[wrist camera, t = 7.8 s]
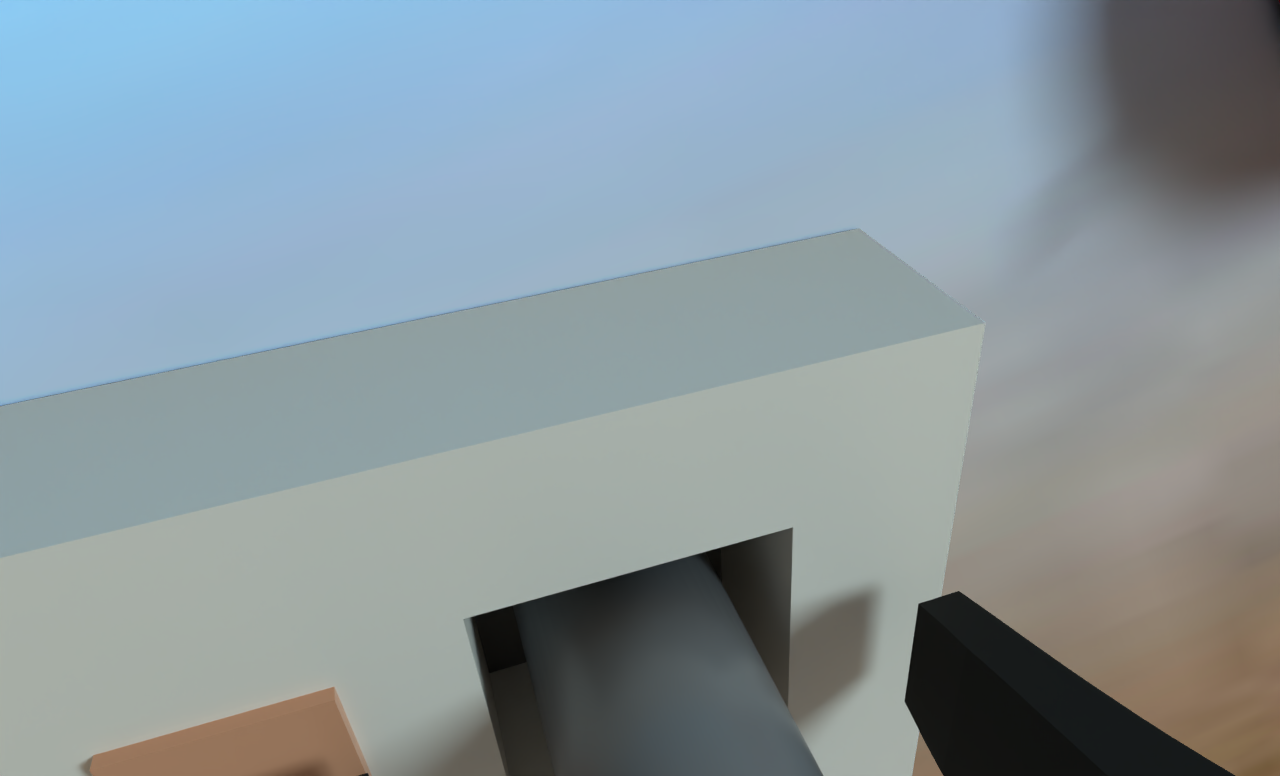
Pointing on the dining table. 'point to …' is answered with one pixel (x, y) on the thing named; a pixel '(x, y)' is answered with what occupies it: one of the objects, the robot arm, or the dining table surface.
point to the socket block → (483, 519)
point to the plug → (656, 680)
